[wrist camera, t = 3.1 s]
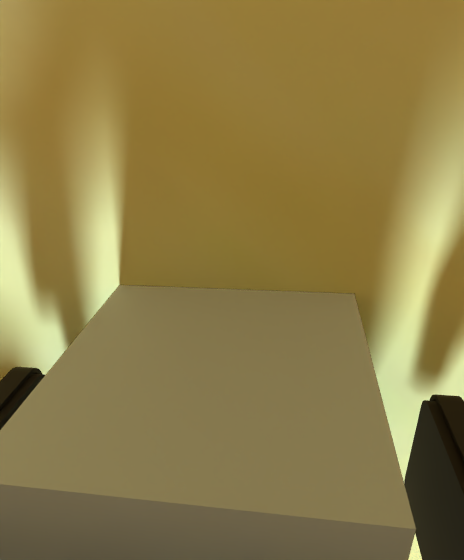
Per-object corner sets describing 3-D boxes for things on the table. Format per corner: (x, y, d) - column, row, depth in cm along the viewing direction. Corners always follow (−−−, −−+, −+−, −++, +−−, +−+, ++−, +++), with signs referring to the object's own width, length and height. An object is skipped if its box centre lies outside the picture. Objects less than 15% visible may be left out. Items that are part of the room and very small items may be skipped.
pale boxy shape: (354, 292, 10) (416, 529, 5) (334, 464, 13) (361, 737, 8) (120, 283, 11) (-41, 479, 6) (147, 446, 14) (54, 683, 8)
